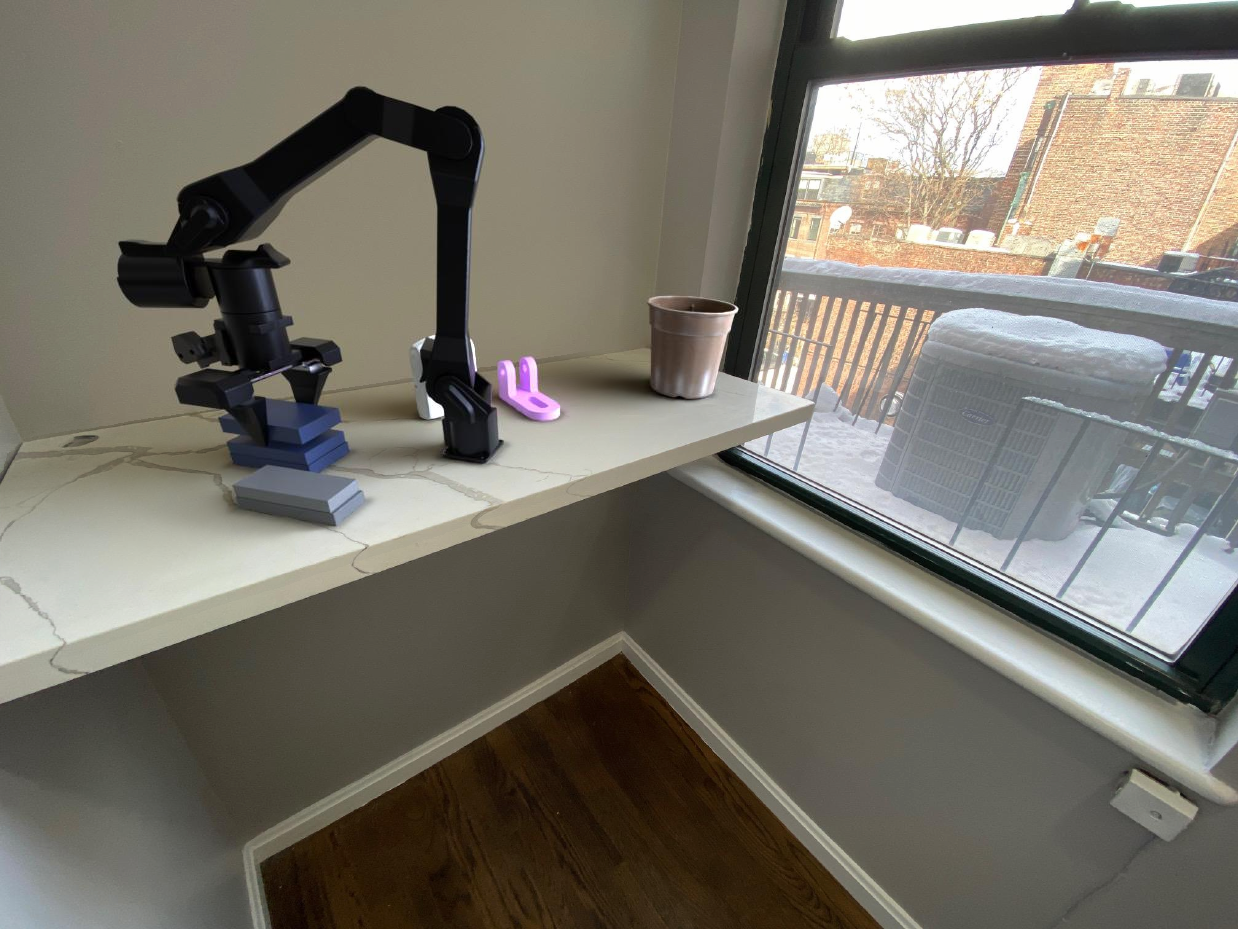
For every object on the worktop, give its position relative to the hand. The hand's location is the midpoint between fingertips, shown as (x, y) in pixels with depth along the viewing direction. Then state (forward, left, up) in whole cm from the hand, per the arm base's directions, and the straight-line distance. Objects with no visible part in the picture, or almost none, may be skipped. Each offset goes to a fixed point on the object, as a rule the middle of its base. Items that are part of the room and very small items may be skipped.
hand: (286, 433), depth 65 cm
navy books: (0, 0, -4) cm, 4 cm away
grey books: (-9, +9, -4) cm, 13 cm away
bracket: (-23, -27, -4) cm, 36 cm away
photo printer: (-11, -21, -4) cm, 24 cm away
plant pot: (-47, -45, -4) cm, 65 cm away
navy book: (0, 0, +1) cm, 1 cm away
